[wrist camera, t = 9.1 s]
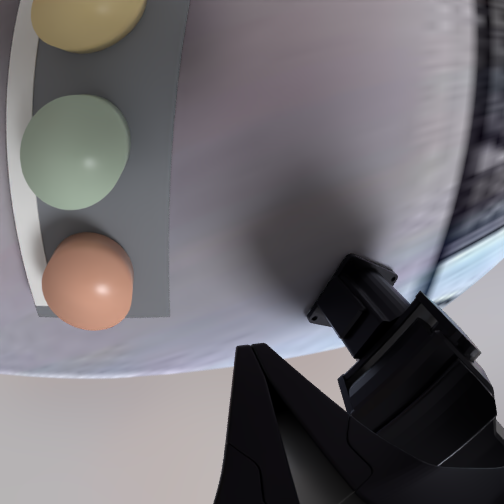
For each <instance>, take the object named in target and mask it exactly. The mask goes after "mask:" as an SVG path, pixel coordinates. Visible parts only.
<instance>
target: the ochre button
mask: <svg viewBox="0 0 504 504" xmlns="http://www.w3.org/2000/svg"><path fill="white" fill-rule="evenodd" d="M146 3H147V0H33V3H32V8H31V22H32V26H33V29H34V31H35V33H36V34H37V35H38V37H39V38H40V39H41V40H42V41H44V42H45V43H47V44H49V45H51V46H54V47H57V48H59V49H62V50H65V51H68V52H71V53H78V54H85V53H93V52H97V51H100V50H103V49H106V48H108V47H110V46H112V45H114V44H115V43H117V42H119V41H120V40H121V39H123V38H124V37H125V36H126V35H127V34H128V33H130V32H131V30H132V29H133V28H134V27H135V26H136V24H137V23H138V22H139V20H140V18H141V17H142V15H143V12H144V10H145V7H146Z"/></svg>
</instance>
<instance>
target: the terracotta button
mask: <svg viewBox="0 0 504 504" xmlns="http://www.w3.org/2000/svg"><path fill="white" fill-rule="evenodd" d="M133 281H134V270H133V266H132V262H131V260H130V258H129V256H128V255H127V253H126V252H125V250H124V249H123V248H122V247H121V246H120V245H119V244H118V243H116V242H115V241H114V240H112V239H110V238H109V237H106V236H104V235H101V234H98V233H92V232H82V233H77V234H74V235H71V236H69V237H67V238H66V239H64V240H63V241H62V242H61V243H60V244H59V245H58V246H57V248H56V249H55V251H54V253H53V255H52V257H51V259H50V261H49V262H48V264H47V266H46V268H45V270H44V273H43V276H42V292H43V295H44V298H45V300H46V302H47V304H48V306H49V307H50V309H51V310H52V311H53V312H54V313H55V314H56V315H57V316H58V317H59V318H60V319H61V320H63V321H64V322H66V323H68V324H70V325H72V326H74V327H77V328H80V329H85V330H103V329H107V328H110V327H113V326H115V325H116V324H118V323H119V322H121V321H122V320H123V319H124V318H125V316H126V315H127V314H128V312H129V310H130V307H131V302H132V292H133Z"/></svg>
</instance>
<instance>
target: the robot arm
mask: <svg viewBox="0 0 504 504" xmlns="http://www.w3.org/2000/svg"><path fill="white" fill-rule="evenodd" d="M351 260H352V261H351ZM350 261H351V262H350ZM397 278H398V276H397V274H396V273H394V272H393V271H391V270H388V269H386V268H384V267H382V266H379V265H377V264H375V263H372V262H370V261H368V260H366V259H363V258H361V257H359V256H356V255H354V254H349V255H347V256H346V258H345V259H344V261H343V262H342V264H341V265H340V267H339V268H338V270H337V272H336V273H335V275H334V276H333V278H332V279H331V281H330V282H329V284H328V285H327V287H326V288H325V290H324V291H323V293H322V294H321V296H320V297H319V299H318V300H317V302H316V303H315V305H314V306H313V308H312V309H311V311H310V312H309V314H308V315H307V318H308V320H309V322H310V323H314V324H319V325H324V326H329V327H332V328H333V329H334V331H335V332H336V334H337V335H338V337H339V338H340V339H341V340H342V341H343V343H344V344H345V346H346V347H347V349H348V350H349V352H350V353H351V355H352V356H353V358H354V359H356V361H357V362H356V363H355V365H353V366H352V367H351V368H350V370H348V371H347V372H346V373H345V374H343V375H341V376H340V377H339V378H338V383H339V387H340V390H341V394H342V397H343V400H344V404H345V407H346V411H347V412H346V411H345V410H343V409H342V408H341V407H340V406H339V405H337V404H336V403H335V402H334V401H332V400H331V399H330V398H329V397H327V396H326V395H325V394H324V393H323V392H321V391H320V390H319V389H318V388H317V387H315V386H314V385H313V384H312V383H311V382H309V381H308V380H307V379H306V378H305V377H304V376H302V375H301V374H300V373H299V372H298V371H297V370H295V369H294V368H293V367H292V366H291V365H289V364H288V363H287V362H286V361H285V360H284V359H283V358H282V357H280V356H279V355H278V354H277V353H276V352H275V351H274V350H272V349H271V348H270V347H269V346H268V345H267V344H265V343H258V344H252V345H251V346H250V345H241V346H237V347H236V352H235V361H234V370H233V379H232V388H231V398H230V406H229V416H228V424H227V434H226V443H225V450H224V459H223V465H222V472H221V477H220V481H219V485H218V489H217V493H216V496H215V500H214V503H213V504H504V428H503V427H502V426H501V425H500V424H499V422H498V421H497V420H496V416H497V411H496V404H495V399H494V390H493V387H492V385H491V383H490V381H489V379H488V378H487V375H486V374H485V372H484V370H483V369H482V367H481V366H480V365H479V364H478V363H477V362H476V361H475V359H476V358H477V357H478V356H479V355H480V354H481V352H480V351H479V349H478V348H477V347H476V346H475V344H474V343H473V342H472V341H471V340H470V339H469V337H468V336H467V335H466V334H465V333H464V332H463V331H462V330H461V328H460V327H459V326H458V325H457V324H456V323H455V322H454V321H453V320H452V319H451V318H450V317H449V316H448V315H447V314H446V313H445V312H444V311H442V309H441V308H440V307H438V306H437V305H436V304H435V303H434V302H433V301H432V300H430V299H429V298H428V297H427V296H426V295H425V294H423V293H422V292H421V291H419V293H418V294H417V295H416V296H415V297H416V298H415V299H414V301H413V302H412V303H411V304H410V303H409V302H408V301H407V300H406V299H405V298H404V297H403V296H402V295H401V294H400V293H399V292H398V291H397V290H396V289H395V288H394V287H393V285H394V283H395V282H396V280H397Z"/></svg>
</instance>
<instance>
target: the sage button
mask: <svg viewBox="0 0 504 504" xmlns="http://www.w3.org/2000/svg"><path fill="white" fill-rule="evenodd" d="M130 147H131V136H130V130H129V127H128V124H127V121H126V119H125V117H124V116H123V114H122V112H121V111H120V110H119V109H118V108H117V107H116V106H115V105H114V104H113V103H112V102H110V101H108V100H107V99H105V98H103V97H100V96H96V95H90V94H82V95H69V96H63V97H60V98H57V99H55V100H53V101H51V102H49V103H47V104H46V105H44V106H43V107H42V108H41V109H40V110H39V111H38V112H37V113H36V114H35V115H34V116H33V117H32V119H31V120H30V122H29V123H28V125H27V127H26V129H25V132H24V134H23V137H22V141H21V147H20V163H21V169H22V173H23V176H24V178H25V180H26V182H27V184H28V186H29V187H30V189H31V190H32V192H33V193H34V194H35V195H36V196H37V197H38V198H39V199H41V200H42V201H43V202H45V203H46V204H48V205H50V206H52V207H55V208H58V209H64V210H78V209H83V208H86V207H89V206H92V205H94V204H95V203H97V202H99V201H100V200H101V199H103V198H104V197H105V196H106V195H107V194H108V193H109V192H110V191H111V190H112V189H113V187H114V186H115V184H116V183H117V181H118V179H119V177H120V175H121V173H122V171H123V170H124V167H125V165H126V163H127V161H128V158H129V154H130Z"/></svg>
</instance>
